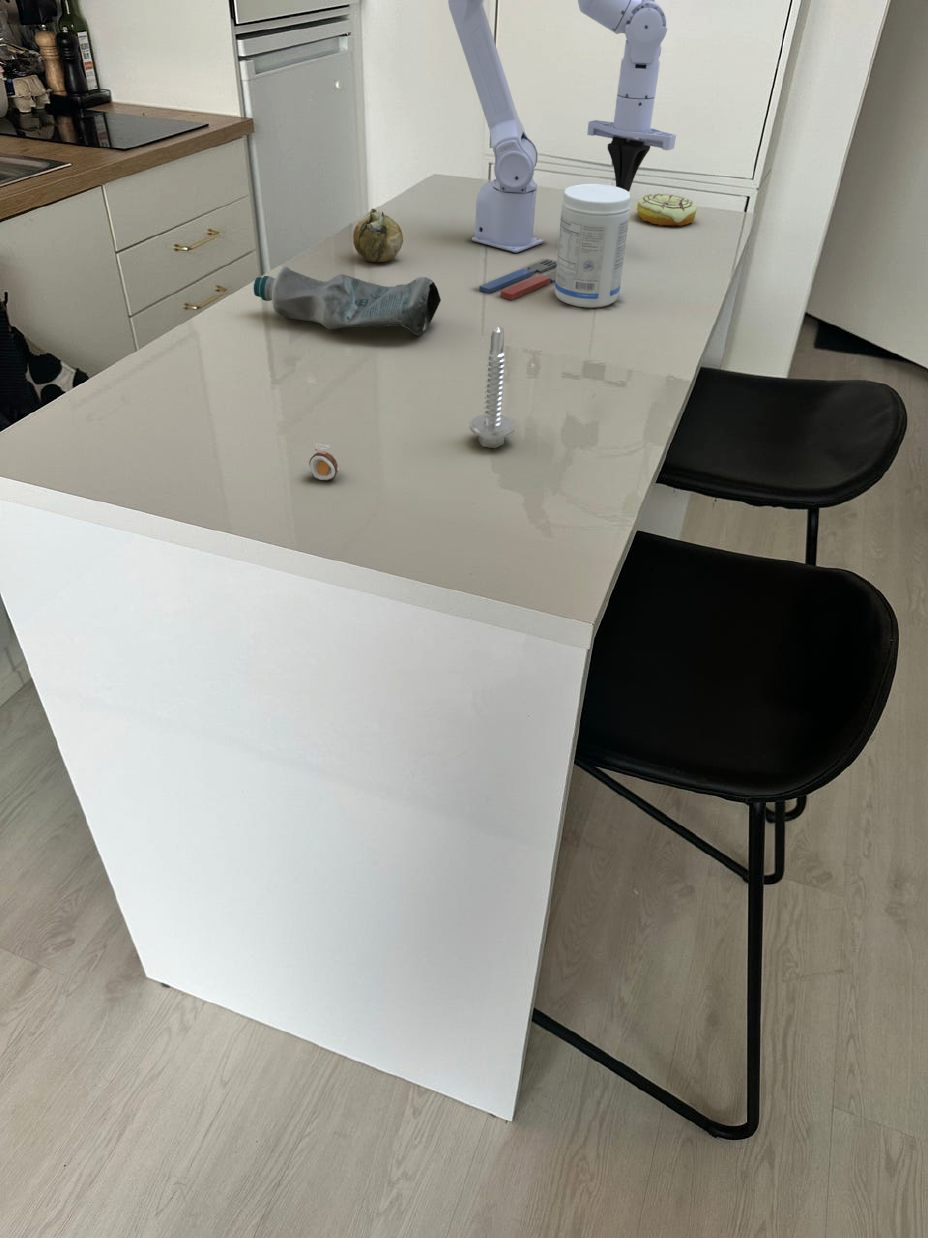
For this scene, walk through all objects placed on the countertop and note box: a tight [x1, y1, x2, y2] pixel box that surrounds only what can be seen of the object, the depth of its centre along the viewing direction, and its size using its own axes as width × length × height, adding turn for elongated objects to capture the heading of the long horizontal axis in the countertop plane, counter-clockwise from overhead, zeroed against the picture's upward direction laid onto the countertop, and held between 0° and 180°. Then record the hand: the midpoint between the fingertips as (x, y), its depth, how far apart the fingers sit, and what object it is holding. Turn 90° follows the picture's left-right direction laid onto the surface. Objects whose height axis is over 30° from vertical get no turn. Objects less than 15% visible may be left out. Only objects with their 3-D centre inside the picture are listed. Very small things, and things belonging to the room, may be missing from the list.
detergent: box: [253, 266, 442, 337], centre depth 123 cm, size 13×7×25 cm
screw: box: [469, 325, 516, 449], centre depth 96 cm, size 13×5×5 cm
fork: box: [478, 258, 557, 294], centre depth 142 cm, size 18×2×1 cm, turn 142°
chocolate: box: [308, 440, 339, 481], centre depth 92 cm, size 3×2×4 cm
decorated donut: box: [636, 193, 698, 227], centre depth 169 cm, size 10×11×4 cm
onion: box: [352, 208, 404, 263], centre depth 144 cm, size 8×8×8 cm
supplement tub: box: [554, 183, 631, 309], centre depth 132 cm, size 10×10×15 cm
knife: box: [500, 271, 556, 301], centre depth 141 cm, size 20×2×1 cm, turn 142°
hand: (622, 191), depth 148 cm, fingers closed
